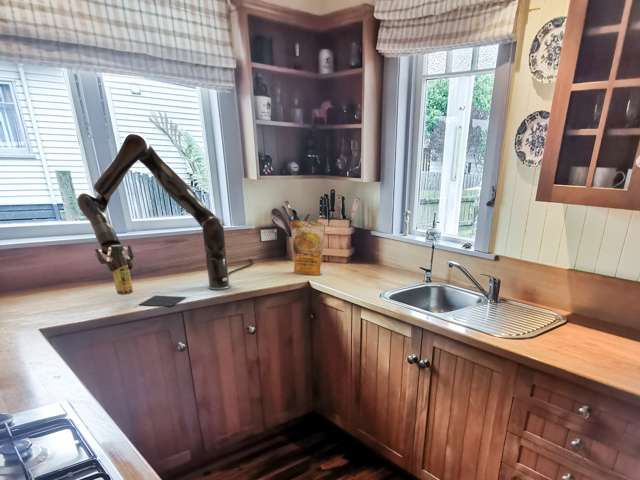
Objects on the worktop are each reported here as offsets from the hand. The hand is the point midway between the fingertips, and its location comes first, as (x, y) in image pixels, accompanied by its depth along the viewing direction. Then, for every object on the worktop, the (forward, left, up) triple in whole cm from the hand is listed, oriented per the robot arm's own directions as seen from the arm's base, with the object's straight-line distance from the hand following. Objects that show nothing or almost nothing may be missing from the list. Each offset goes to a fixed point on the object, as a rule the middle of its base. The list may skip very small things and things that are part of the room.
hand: (122, 269), depth 192 cm
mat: (-7, +12, -15) cm, 20 cm away
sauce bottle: (-1, -1, -11) cm, 11 cm away
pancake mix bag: (-73, +63, -15) cm, 97 cm away
